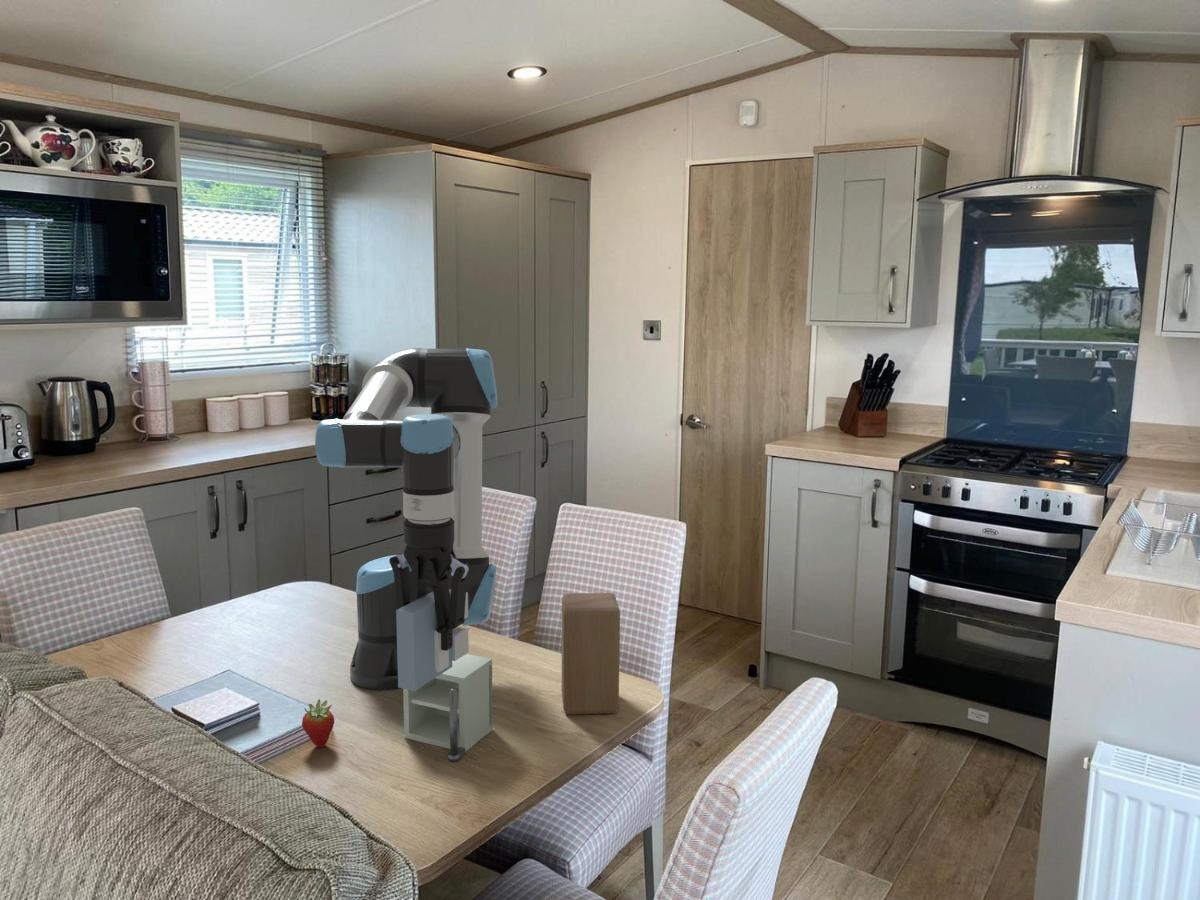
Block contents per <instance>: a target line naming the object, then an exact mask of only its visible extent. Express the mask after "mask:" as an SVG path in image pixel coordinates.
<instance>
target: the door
mask: <svg viewBox="0 0 1200 900" xmlns="http://www.w3.org/2000/svg"><path fill="white" fill-rule="evenodd" d="M449 592H450V595H451V590H449ZM467 617H468V593H467V592H466V601H465V616H464V619H465V618H467ZM396 623H397V661H398V687H399V688H398V689H402V690H403V689H408V690H412V691H416V690H418V689H419V688H421V687H422V686H424V685H425V684H427V683H428V682H430V681H431V680H433V679H434V678H436V677H437V676H439V675H440V674H442V673H444V672H445V671H447V670H448V669H450V668H451V667H452V661H456V660H458V659H459V658H461V657H462V656H464V655H465V654H469V652H470V651H469V648H470V646H469V642H470V641H469V628H467V627H463V626H462V627H461V626H458V627H456V628H454V629H453V630H452V633H453V638H452V639H453V645H452V648H450V649H449V666H448V667H447V668H445V669H444V670H442V671H440V672H435V646H434V631H435V630H436V629H437V628H439V627H438V620H437V613H436V607H435V600H434V593H433V592H431V593H429V594H427V595H425V596H423V597H421V598H419V599H417V600H415V601H413V602H411V603H410V604H408V605H406V606H404V607H402V608H400V609H398V610H396Z"/></svg>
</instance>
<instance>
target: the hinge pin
mask: <svg viewBox="0 0 1200 900" xmlns="http://www.w3.org/2000/svg"><path fill="white" fill-rule="evenodd" d="M449 702H450V749H449V751H450V752H448V753H447V760H448V762H451V763H452V762H453V763H456V762H459V761H460V760H461V757H462V756H463V755H465V754H466V752H465V748H462V747H458V734H457V691H456V689H451V690H450V692H449Z"/></svg>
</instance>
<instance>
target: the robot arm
mask: <svg viewBox="0 0 1200 900" xmlns="http://www.w3.org/2000/svg"><path fill="white" fill-rule="evenodd" d="M496 383H497V382H496V375H495V370H494V363H493V358H492V355H491V354H490V353H489V351H487V350H485V349H477V348H469V347H466V348H421V347H417V348H416V347H415V348H414V347H413V348H407V349H403V350H400V351H397V352H395V353H393V354H390V355H388V356H386V357H383V358H382V359H381V360H379V361H377V362H376V363H374V364H373V365H372V366H371V367H370V368H369V370H368V371H367V372H366V373H365V374H364V377H363V379H362V384H361V391H360V392H359V393H358V394H357V396H356V398H355V400H354V401H353V403H351V406H349V408H348V410H347V411H346V413H345V415H344V416H343V418H342V419H341V418H338V417H337V418H334V419H333V418H332V419H331V418H330V419H323V420H320V421H319V423H318V424H317V426H316V430H315V437H314V441H315V442H314V447H315V449H314V450H315V454H316V459H317V461H318V462H319V464H320V465H321V466H324V467H330V468H331V467H335V468H337V467H338V468H340V469H344V468H402V502H403V503H402V505H403V506H402V507H403V510H402V511H403V517H404V518H406V519H405V520H404V522H402V523H403V524H402V525H403V543H404V544H405V548H404V551H403V553H399V554H394V555H388V556H384V557H380V558H376V559H373V560H370V561H367V562H366V563H365V564H362V565H361V566H360V567H359V569H358V571H357V574H356V589H355V593H356V607H357V608H356V611H357V629H358V630H357V632H358V633H357V634H358V637H357V638H358V639H357V643H356V646H355V650H354V653H353V655H352V659H351V661H350V667H349V673H350V676H349V677H350V681H351V682H352V683H353V684H354V685H356V686H358V687H360V688H365V689H369V690H380V691H384V690H385V691H386V690H387V691H388V690H397V689H400V688H399V687H398V661H397V623H396V610H398V609H400V608H402V607H404V606H406V605H408V604H410V603H411V602H413V601H415V600H417V599H419V598H421V597H423V596H425V595H427V594H429V593H431V592H433V593H434V600H435V607H436V613H437V620H438V627H439V628H437V629H436V630H435V631H434V646H435V672H440V671H442V670H444V669H445V668H447V667H448V666H449V649H450V648H452V645H453V639H452V638H453V633H452V630H453V629H454V628H456V627H461V625H463V626H464V627H466V626H468V625H482V624H485V623H486V622H487V621H488V620H489V619H490V616H491V611H492V607H493V606H492V605H493V601H494V594H495V587H496V580H497V579H496V578H497V565H496V564H493V563H490V554H489V553H488V552H487V551H486V550H485V549H484V548H483V546H482V545H483V544H482V539H483V538H482V529H483V526H482V524H483V521H482V520H483V519H482V518H483V514H482V513H483V426H484V424H485V423H486V422H487V421H488V420H489V419H491V409H492V410H494V409H496V408H498V403H499V402H498V401H499V400H498V392H497V391H498V390H497V384H496ZM405 408H430V413H425V414H424V413H421V414H413V415H412V414H411V415H408V416H406V417H405V418H404V419H396V417H397V415H398V413H399V412H400V411H401V410H403V409H405ZM449 590H451V595H450V592H449ZM466 592H467V593H468V617H467V618H465V619H464V616H465V601H466ZM463 626H462V627H463Z"/></svg>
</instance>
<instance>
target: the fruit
mask: <svg viewBox="0 0 1200 900" xmlns="http://www.w3.org/2000/svg"><path fill="white" fill-rule="evenodd" d="M327 704H328V700H327V699H326V700H324V701H323V702H322V703H321V699H320V698H318V700H317V701H316V705H315V706H314V705H313V704H312V703H309V704H308V707H309V710H307V708H305V707H303V708H304V711H305V714H304V715H303V717H302V719H301V725H302V728H303V730H304V732H305V733H306V735H307V736H308V738H309V739H310V741H311V742H312V743H313V744H314V745H315V747H317V748H323V747H325V746H326V745H327V743H328V741H329V739H330V734H331V732H332V730H333V728H334V726H335V725H334V724H335V717H334V715H333V713H332V712H331V711H330V709H331V707H332V706H333V704H330V705H328V706H327Z"/></svg>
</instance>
